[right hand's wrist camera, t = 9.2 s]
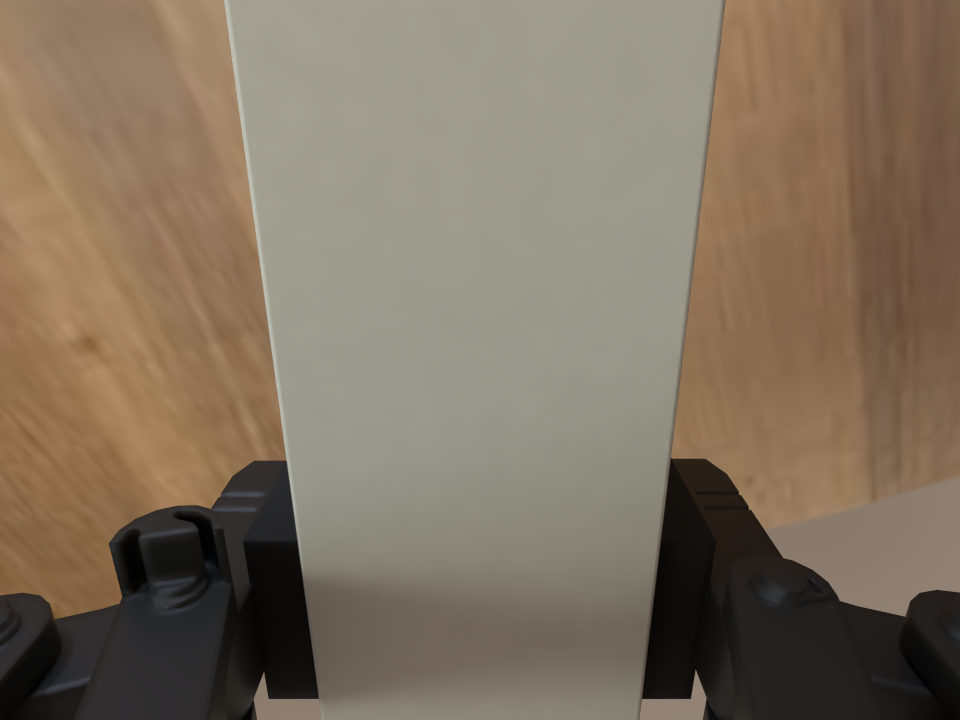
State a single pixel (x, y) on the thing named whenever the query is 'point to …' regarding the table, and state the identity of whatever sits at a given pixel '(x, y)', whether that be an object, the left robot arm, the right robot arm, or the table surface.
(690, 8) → the beam
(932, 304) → the table surface
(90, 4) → the table surface
